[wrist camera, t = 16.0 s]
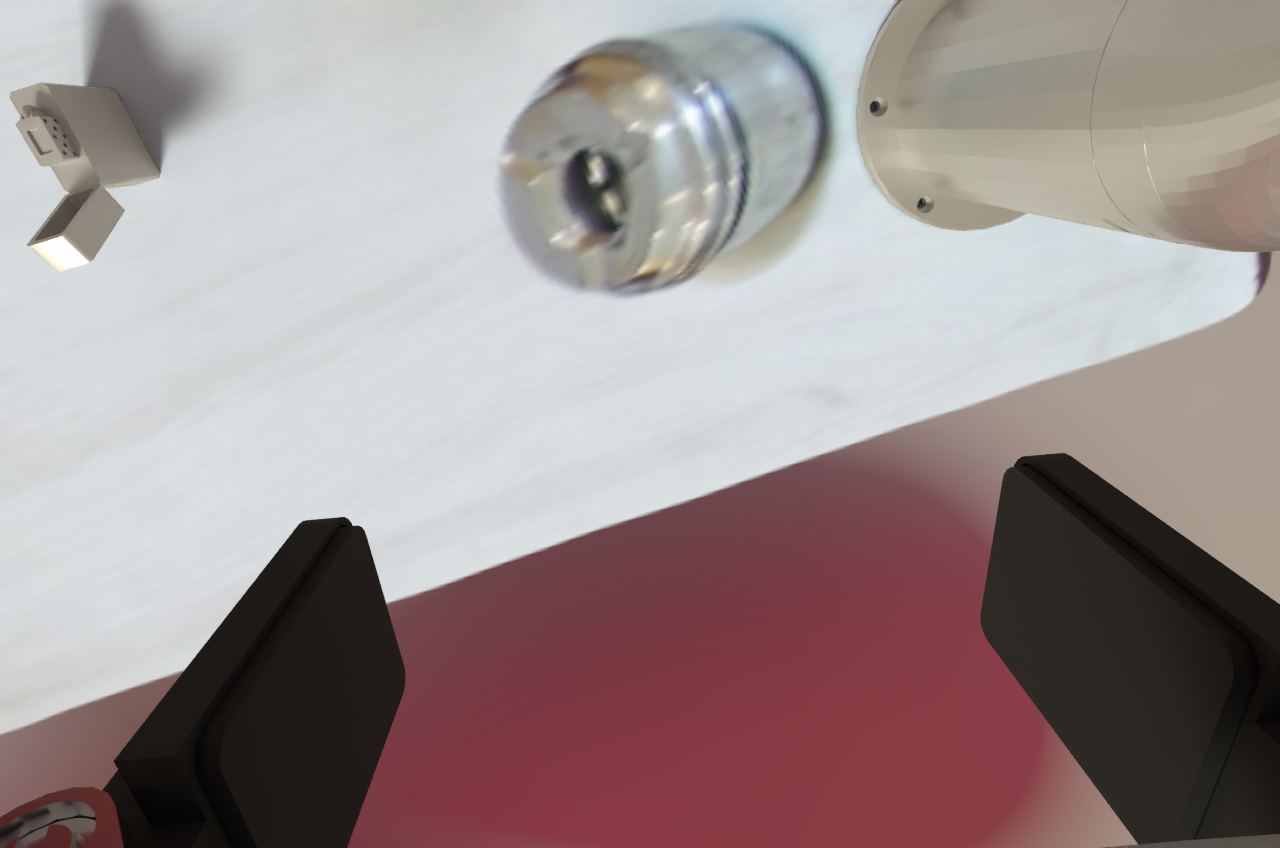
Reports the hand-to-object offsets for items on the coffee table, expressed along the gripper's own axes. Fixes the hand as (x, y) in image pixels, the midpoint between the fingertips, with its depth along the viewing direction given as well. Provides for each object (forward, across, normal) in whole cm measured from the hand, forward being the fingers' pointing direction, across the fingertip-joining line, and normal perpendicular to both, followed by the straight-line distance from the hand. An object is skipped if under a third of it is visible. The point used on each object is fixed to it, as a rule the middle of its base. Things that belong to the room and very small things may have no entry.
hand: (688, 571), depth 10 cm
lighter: (+28, +24, -6) cm, 38 cm away
